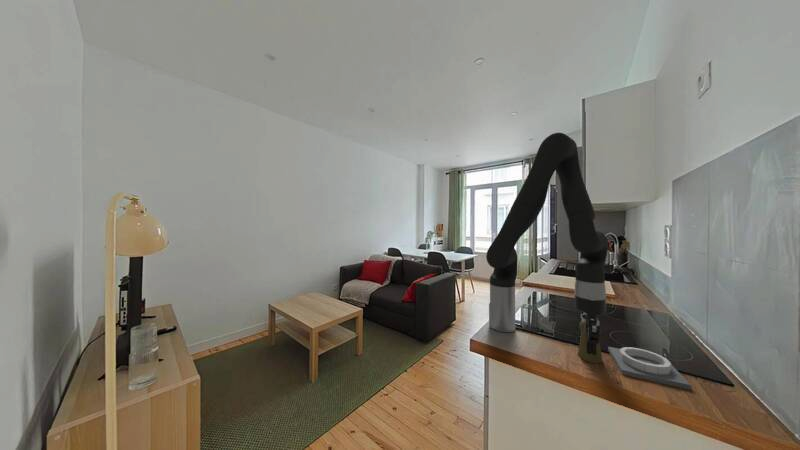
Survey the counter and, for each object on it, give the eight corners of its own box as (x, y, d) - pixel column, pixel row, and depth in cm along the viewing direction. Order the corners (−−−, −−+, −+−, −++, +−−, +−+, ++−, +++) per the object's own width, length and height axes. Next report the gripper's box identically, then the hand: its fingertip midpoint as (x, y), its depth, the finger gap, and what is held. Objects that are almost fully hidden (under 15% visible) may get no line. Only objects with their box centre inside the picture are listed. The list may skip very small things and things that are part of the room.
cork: (607, 364, 70) (607, 327, 70) (584, 362, 72) (584, 325, 72) (595, 353, 76) (595, 318, 76) (573, 351, 78) (573, 317, 77)
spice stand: (621, 374, 66) (621, 362, 66) (608, 350, 78) (608, 340, 78) (691, 390, 59) (691, 377, 59) (664, 361, 72) (664, 350, 72)
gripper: (571, 288, 82) (571, 338, 82) (578, 299, 69) (578, 358, 70) (599, 290, 78) (599, 343, 78) (612, 304, 66) (612, 366, 66)
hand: (589, 350), depth 74 cm, fingers closed on cork, 4 cm apart
